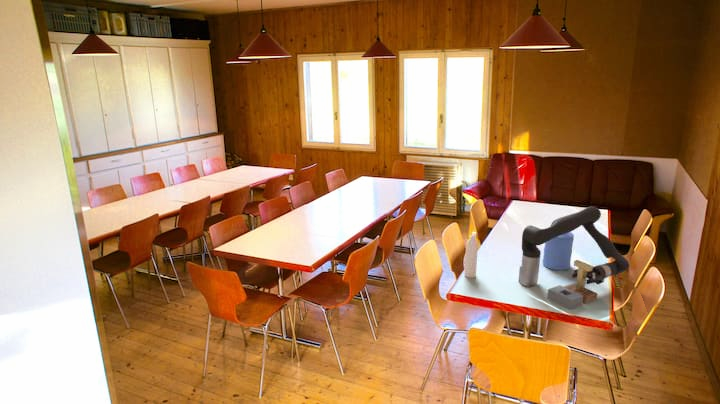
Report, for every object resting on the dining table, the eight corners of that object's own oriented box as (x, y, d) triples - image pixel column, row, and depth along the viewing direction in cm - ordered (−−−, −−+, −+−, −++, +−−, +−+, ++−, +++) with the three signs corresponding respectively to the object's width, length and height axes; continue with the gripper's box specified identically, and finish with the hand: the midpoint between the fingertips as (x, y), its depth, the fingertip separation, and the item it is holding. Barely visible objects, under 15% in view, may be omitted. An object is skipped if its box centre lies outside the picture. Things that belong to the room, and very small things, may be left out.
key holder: (546, 299, 249) (548, 289, 247) (558, 295, 253) (559, 285, 251) (570, 311, 237) (571, 300, 235) (581, 306, 241) (583, 295, 239)
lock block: (561, 294, 254) (562, 286, 253) (572, 290, 258) (573, 283, 257) (585, 305, 242) (586, 297, 241) (596, 301, 247) (597, 293, 245)
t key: (569, 293, 253) (573, 261, 248) (573, 292, 254) (577, 259, 249) (584, 300, 245) (589, 267, 240) (588, 298, 247) (593, 265, 242)
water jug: (572, 271, 281) (578, 226, 274) (544, 269, 284) (549, 225, 277) (567, 261, 296) (572, 218, 288) (540, 259, 299) (545, 217, 291)
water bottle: (474, 278, 273) (477, 237, 266) (463, 276, 276) (465, 236, 269) (477, 272, 281) (480, 232, 274) (466, 271, 283) (468, 231, 276)
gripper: (588, 261, 259) (568, 267, 252) (613, 270, 247) (593, 277, 240) (586, 274, 261) (567, 280, 254) (611, 283, 249) (591, 291, 242)
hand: (579, 279), depth 247 cm, fingers open, 8 cm apart
